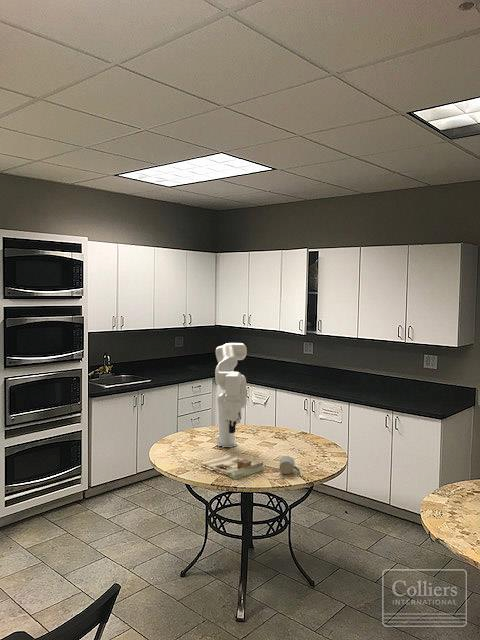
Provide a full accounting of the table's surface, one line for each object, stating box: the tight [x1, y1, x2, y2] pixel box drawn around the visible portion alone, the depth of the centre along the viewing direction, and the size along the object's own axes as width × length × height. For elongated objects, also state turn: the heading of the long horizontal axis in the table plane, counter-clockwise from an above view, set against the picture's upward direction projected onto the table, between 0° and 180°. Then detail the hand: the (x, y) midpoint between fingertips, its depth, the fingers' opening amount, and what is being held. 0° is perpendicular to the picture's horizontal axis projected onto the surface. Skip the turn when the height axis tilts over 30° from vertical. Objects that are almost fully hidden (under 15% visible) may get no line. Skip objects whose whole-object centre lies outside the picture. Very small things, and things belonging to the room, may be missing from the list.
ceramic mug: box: [279, 455, 301, 476], centre depth 272 cm, size 11×8×8 cm
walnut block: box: [237, 458, 252, 469], centre depth 272 cm, size 5×5×4 cm
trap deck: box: [200, 454, 264, 479], centre depth 278 cm, size 26×20×4 cm
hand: (232, 432), depth 277 cm, fingers closed
